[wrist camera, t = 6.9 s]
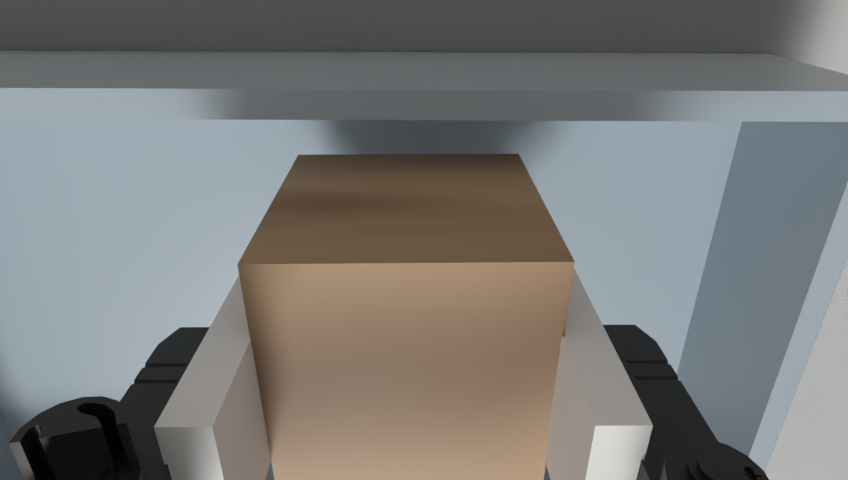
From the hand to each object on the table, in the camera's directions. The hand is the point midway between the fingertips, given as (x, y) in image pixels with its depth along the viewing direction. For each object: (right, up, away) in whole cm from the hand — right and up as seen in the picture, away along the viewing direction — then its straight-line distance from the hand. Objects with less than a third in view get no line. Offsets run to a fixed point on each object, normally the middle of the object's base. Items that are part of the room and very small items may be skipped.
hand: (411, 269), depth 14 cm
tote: (-3, -2, +6) cm, 7 cm away
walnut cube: (0, 0, 0) cm, 1 cm away
